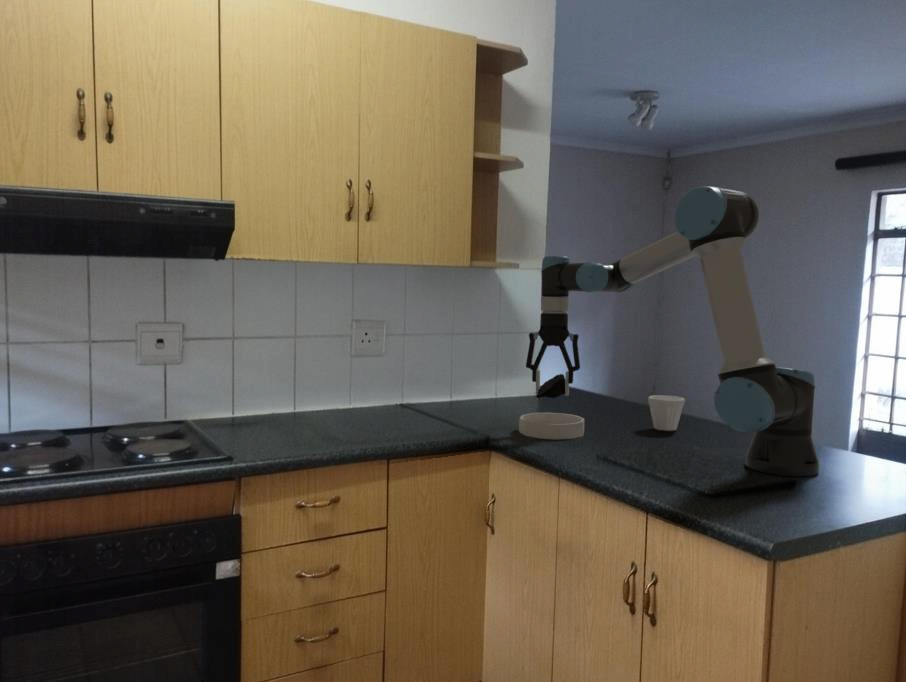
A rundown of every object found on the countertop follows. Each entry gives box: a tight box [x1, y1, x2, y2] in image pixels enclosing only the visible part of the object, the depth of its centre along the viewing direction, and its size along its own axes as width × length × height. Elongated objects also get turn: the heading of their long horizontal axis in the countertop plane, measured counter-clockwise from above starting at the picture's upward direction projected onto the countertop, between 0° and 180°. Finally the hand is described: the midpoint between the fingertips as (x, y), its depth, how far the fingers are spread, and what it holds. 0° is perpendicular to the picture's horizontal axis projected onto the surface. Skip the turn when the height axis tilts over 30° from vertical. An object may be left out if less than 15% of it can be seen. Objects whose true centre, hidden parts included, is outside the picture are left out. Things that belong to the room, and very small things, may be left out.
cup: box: [647, 394, 685, 433], centre depth 204 cm, size 10×10×9 cm
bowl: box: [518, 411, 585, 440], centre depth 199 cm, size 18×18×4 cm
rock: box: [535, 373, 566, 399], centre depth 197 cm, size 7×10×6 cm
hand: (552, 394), depth 198 cm, fingers closed on rock, 7 cm apart
